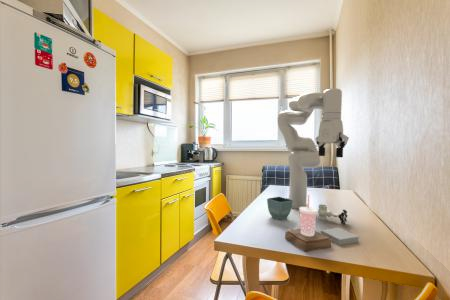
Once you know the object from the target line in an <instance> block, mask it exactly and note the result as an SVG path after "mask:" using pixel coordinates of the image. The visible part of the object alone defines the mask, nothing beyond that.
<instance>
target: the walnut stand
mask: <svg viewBox="0 0 450 300" xmlns="http://www.w3.org/2000/svg"><path fill="white" fill-rule="evenodd" d="M284 233H285V234H284V236H285V237H284V239H285V240H287V241H289V242H291V243H292V244H293V245H294V246H296V247H298V248H299V249H301V250H302V251H304V252H307V253H308V252H311V251H316V250H317V251H318V250H322V249H327V248H331V247H332V241H331V240H330V239H329V238H328V237H326V236H324V235H323V234H321V232H319V231H316V230H315V232H314V236H305V235H302V234H301V228H296V229H289V230H287V231H285V232H284Z"/></svg>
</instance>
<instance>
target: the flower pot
mask: <svg viewBox="0 0 450 300" xmlns="http://www.w3.org/2000/svg"><path fill="white" fill-rule="evenodd" d="M286 198H287V197H281V196H276V197H275V196H274V197H270V198H269V197H268V198H266V201H267V202H266V203H267V210H268V212H269V215H270V216H271V218H274V219H277V220H279V221H281V220H285V219H287V218H288V217H289V216H290V213H291V212H292V208H291V207H292V201H293V200H290V199H286Z"/></svg>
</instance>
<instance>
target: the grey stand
mask: <svg viewBox="0 0 450 300" xmlns="http://www.w3.org/2000/svg"><path fill="white" fill-rule="evenodd" d="M320 233H321V234H323V235H324V236H326V237H328V238H329V239H330V240H331V242H333V243H335V244H336V245H339V246H343V245H349V243H350V244H354V242H355V243H359V240H360V239H359V236H358V235H356V234H353V233H352V232H349V231H347V230H345V229H343V228H341V227H333V228H325V229H320Z"/></svg>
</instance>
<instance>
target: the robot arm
mask: <svg viewBox="0 0 450 300" xmlns="http://www.w3.org/2000/svg"><path fill="white" fill-rule="evenodd" d="M342 97H343V92H342V90H341V89H340V88H328V89H325V90H324V91H323V92H317V91H316V92H315V91H314V92H313V91H311V92H310V91H309V92H304V93H301V94H300V95H299V96H295V97H293V98H292V99H290V101H289V102H288V107H289V109H290V110H284V111H280V113H279V114H277V125H278V128H279V130H280V132H281V134H282V136H283V139H284V141H285V145H286V148H287V150H288V151H289V152H290V153H289V155H288V160H287V161H288V167H289V189H288V190H289V192H288V196H287V197H285V198H286V199H290V200H293V201H292V207H291V209H295V210H296V209H297V210H299V208H300V207H308V203H307V202H308V195H307V194H308V175H307V172H306V171H305V169H315V168H318V167H319V166H320V165H321V157H325V156H326V145H327V144H335V145H336V149H335V157H336V158H343V156H344V155H343V154H344V148H345V147H346V145H347V144H348V141H349V139H350V137H349V136H348V135H345V134H344V125H343V120H342V103H343V100H342V99H343V98H342ZM314 110H322V111H321V112H322V113H321V115H322V116H321V121H320V124H319V126H318V127H319V128H318V133H317V134H318V135H317V136H316V137H315V138H314V139H315V141H314V139H312V138H311V137H307V136H300V135H299V134H298V131H297V129H296V128H295V127H293V126H296V125H297V126H302V125H304V124H306V123H307V122H308V120H309V118H310V117H311V115H312V113H313V112H314ZM292 125H293V126H292ZM316 145H317V146H316ZM317 148H318V149H317Z"/></svg>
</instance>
